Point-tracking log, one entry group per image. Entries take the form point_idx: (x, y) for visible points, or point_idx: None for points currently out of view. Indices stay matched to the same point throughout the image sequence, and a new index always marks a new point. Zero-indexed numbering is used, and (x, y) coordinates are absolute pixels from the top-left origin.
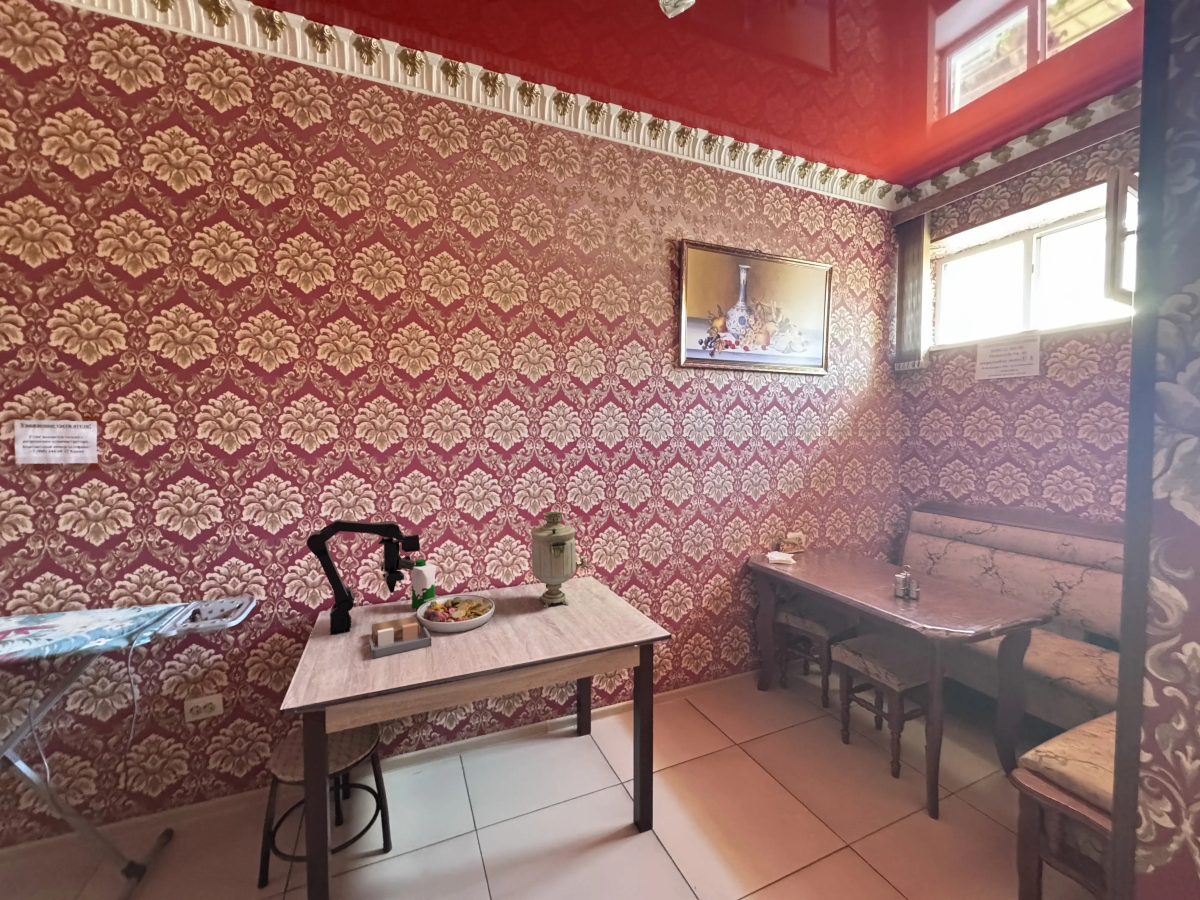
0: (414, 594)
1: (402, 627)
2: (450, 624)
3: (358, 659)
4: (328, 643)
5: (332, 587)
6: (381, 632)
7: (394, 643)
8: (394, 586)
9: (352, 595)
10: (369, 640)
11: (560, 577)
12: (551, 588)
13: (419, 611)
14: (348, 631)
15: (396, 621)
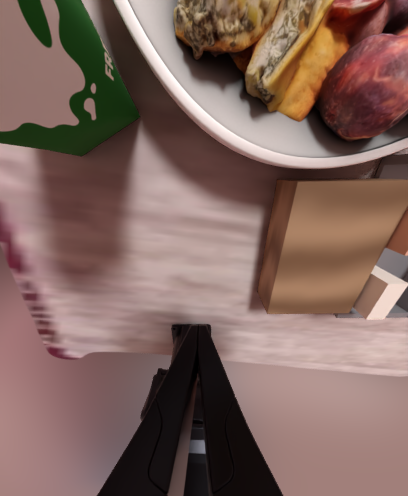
0: (52, 133)
1: (403, 252)
2: None
3: (361, 318)
4: (245, 349)
5: None
6: (387, 311)
7: None
8: (226, 381)
9: (198, 449)
10: (348, 317)
11: None
12: None
13: (265, 147)
14: (210, 327)
15: (299, 255)
